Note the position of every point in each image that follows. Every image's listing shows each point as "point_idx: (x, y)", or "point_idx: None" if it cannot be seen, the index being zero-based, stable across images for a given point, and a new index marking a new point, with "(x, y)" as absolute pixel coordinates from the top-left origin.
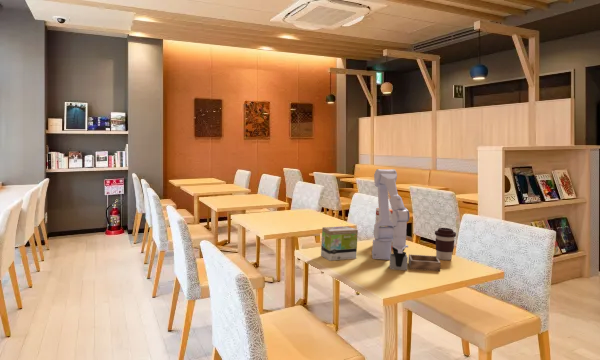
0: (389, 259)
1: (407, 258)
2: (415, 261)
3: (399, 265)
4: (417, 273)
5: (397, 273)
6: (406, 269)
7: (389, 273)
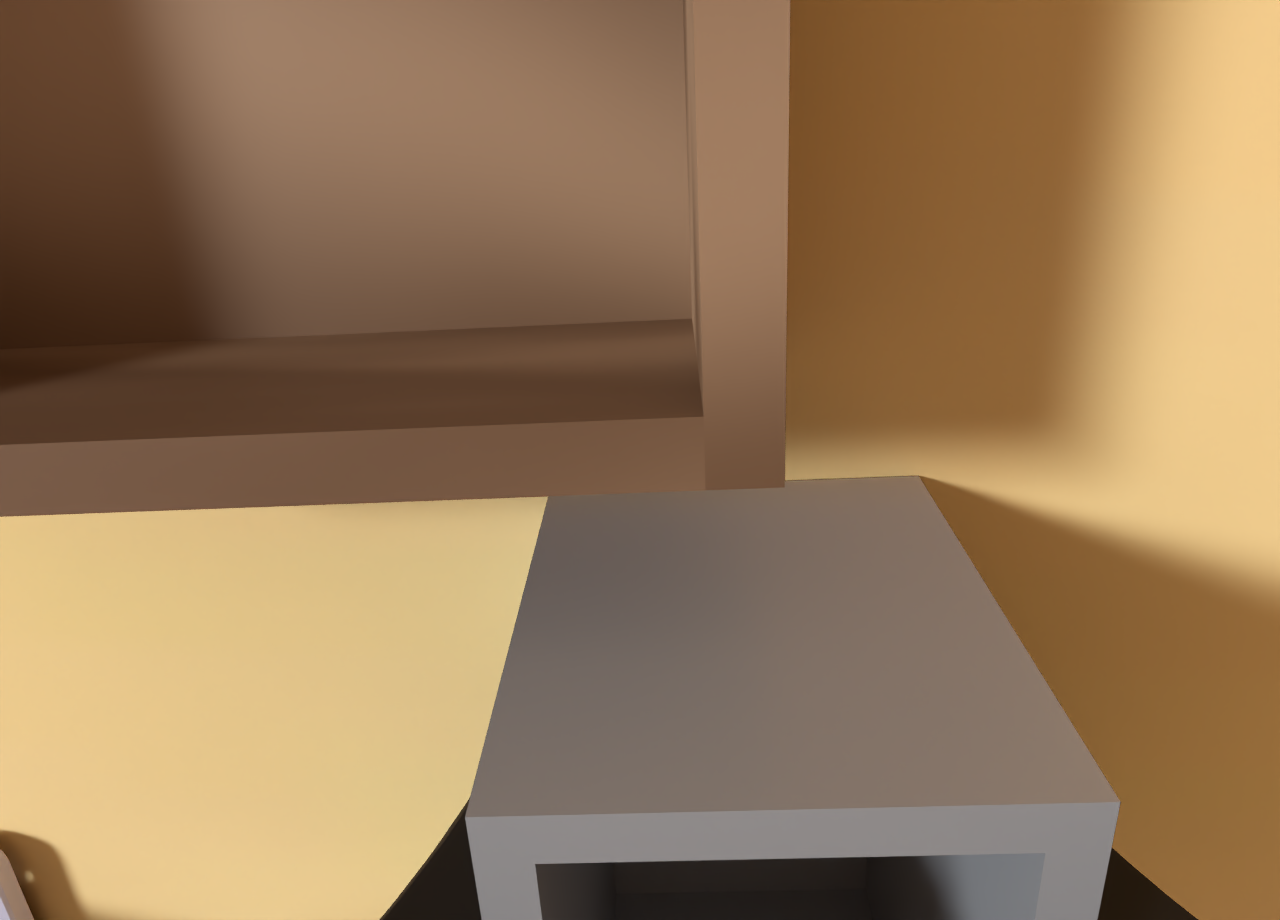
0: (20, 901)
1: (1086, 760)
2: (781, 254)
3: None
4: (1232, 132)
5: (1258, 734)
6: (924, 504)
7: (1265, 901)
